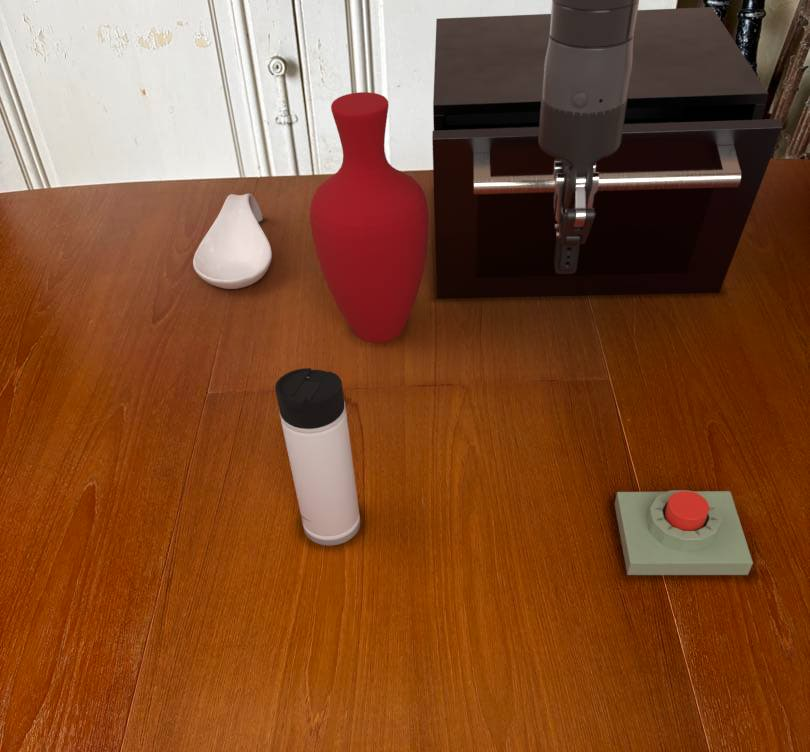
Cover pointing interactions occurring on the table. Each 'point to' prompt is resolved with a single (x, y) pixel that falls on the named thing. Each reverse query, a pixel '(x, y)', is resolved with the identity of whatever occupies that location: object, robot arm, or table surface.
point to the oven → (649, 85)
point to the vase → (369, 225)
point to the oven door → (597, 210)
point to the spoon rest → (234, 246)
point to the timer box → (681, 537)
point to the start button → (687, 510)
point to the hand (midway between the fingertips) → (564, 269)
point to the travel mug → (319, 453)
